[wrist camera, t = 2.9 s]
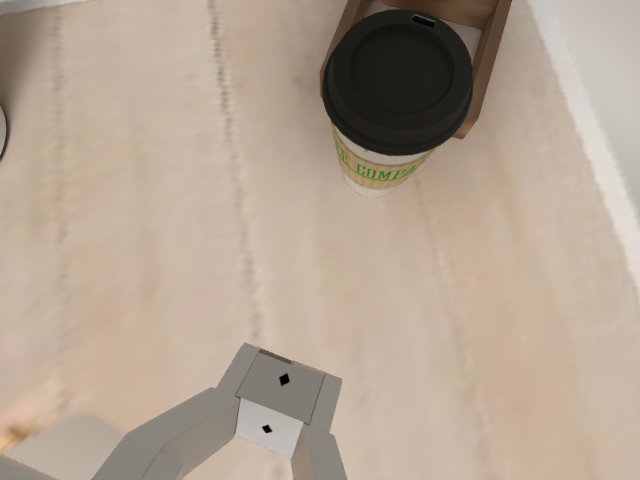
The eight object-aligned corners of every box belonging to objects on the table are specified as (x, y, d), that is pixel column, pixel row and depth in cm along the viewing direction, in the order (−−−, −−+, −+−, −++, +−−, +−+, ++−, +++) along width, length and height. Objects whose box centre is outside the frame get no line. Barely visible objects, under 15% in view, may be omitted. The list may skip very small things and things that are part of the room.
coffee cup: (308, 191, 36) (294, 104, 22) (347, 111, 38) (359, -20, 24) (399, 231, 35) (450, 167, 21) (436, 146, 37) (506, 31, 22)
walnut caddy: (320, 97, 39) (319, 71, 35) (363, -12, 42) (366, -46, 38) (462, 139, 37) (478, 118, 33) (496, 24, 40) (514, -8, 36)
